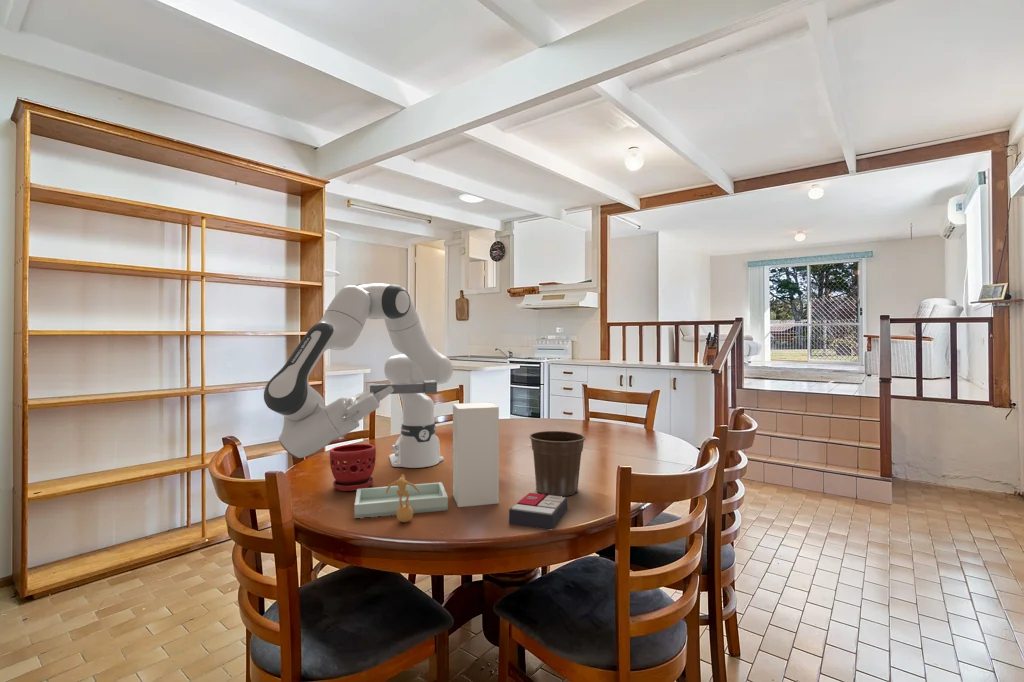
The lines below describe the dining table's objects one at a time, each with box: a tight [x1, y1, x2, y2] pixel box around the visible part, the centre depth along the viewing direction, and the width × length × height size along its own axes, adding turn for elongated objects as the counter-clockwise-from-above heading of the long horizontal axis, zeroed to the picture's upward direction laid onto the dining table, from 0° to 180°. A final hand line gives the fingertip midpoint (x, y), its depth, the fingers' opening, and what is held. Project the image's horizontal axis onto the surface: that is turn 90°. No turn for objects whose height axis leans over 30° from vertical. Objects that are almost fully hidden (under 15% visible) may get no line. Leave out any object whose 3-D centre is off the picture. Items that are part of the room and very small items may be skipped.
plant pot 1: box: [329, 443, 377, 492], centre depth 144 cm, size 13×13×12 cm
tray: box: [354, 481, 449, 519], centre depth 127 cm, size 13×23×4 cm, turn 105°
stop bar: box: [369, 380, 438, 395], centre depth 127 cm, size 7×17×3 cm, turn 105°
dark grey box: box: [508, 492, 568, 530], centre depth 120 cm, size 11×4×15 cm
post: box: [452, 402, 500, 508], centre depth 132 cm, size 10×11×26 cm
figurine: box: [386, 474, 420, 523], centre depth 115 cm, size 8×6×12 cm
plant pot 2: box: [529, 430, 586, 497], centre depth 140 cm, size 16×16×16 cm
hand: (392, 387), depth 126 cm, fingers closed on stop bar, 2 cm apart
